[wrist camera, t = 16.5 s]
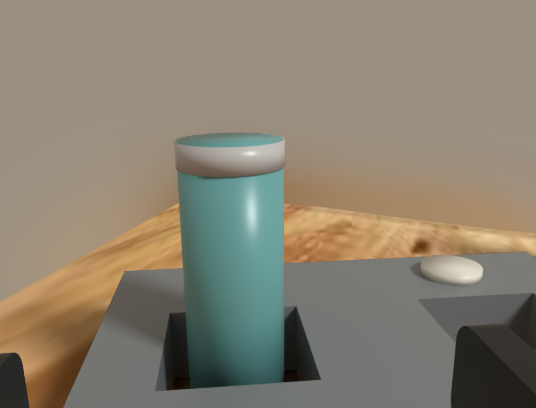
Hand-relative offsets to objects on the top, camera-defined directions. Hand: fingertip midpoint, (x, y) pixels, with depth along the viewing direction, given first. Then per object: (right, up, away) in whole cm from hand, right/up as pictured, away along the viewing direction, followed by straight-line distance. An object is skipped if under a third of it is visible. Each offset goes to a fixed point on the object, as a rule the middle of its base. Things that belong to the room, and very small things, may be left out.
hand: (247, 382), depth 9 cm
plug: (-1, -6, +13) cm, 14 cm away
